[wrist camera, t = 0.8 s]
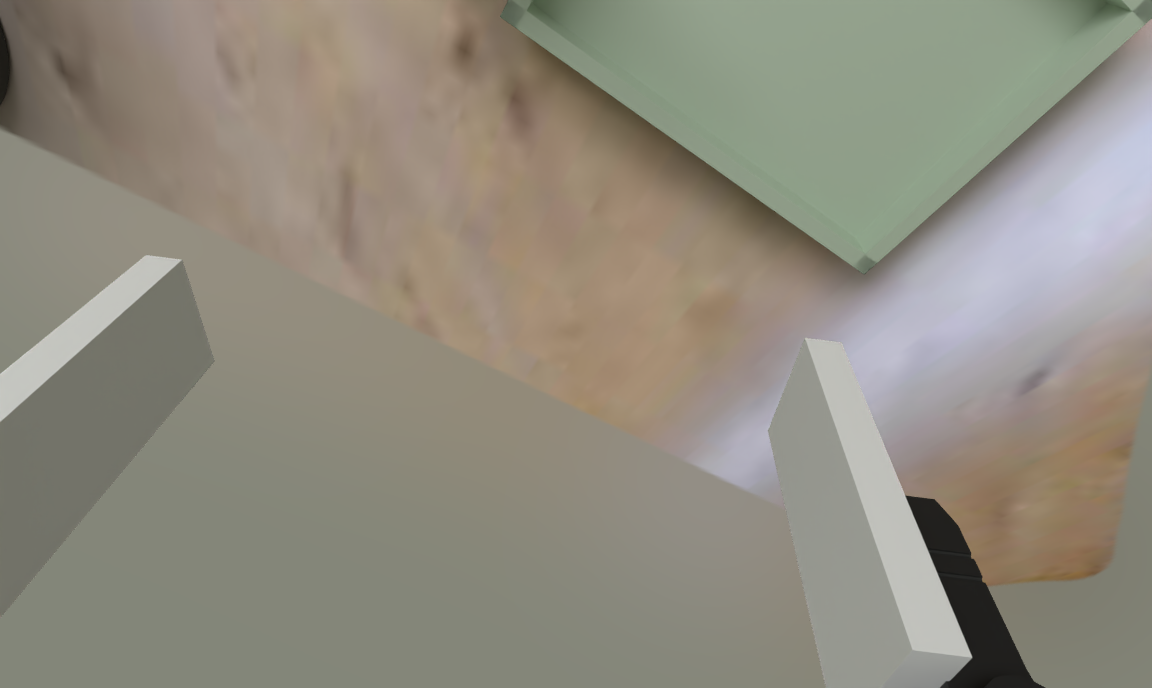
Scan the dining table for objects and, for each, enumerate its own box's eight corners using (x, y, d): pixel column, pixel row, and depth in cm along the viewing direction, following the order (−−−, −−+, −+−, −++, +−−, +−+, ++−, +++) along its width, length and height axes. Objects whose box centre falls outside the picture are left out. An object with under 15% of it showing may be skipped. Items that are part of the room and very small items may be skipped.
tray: (509, 6, 35) (499, 16, 33) (730, -417, 25) (738, -445, 23) (852, 251, 42) (864, 274, 40) (1130, -6, 32) (1167, 4, 30)
